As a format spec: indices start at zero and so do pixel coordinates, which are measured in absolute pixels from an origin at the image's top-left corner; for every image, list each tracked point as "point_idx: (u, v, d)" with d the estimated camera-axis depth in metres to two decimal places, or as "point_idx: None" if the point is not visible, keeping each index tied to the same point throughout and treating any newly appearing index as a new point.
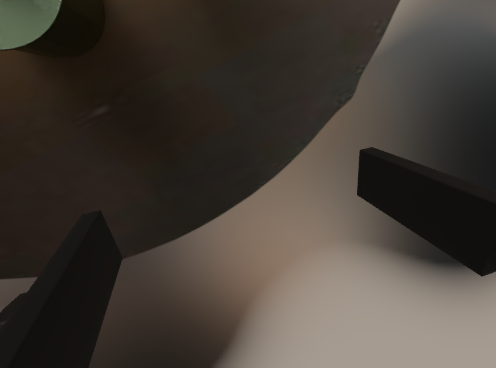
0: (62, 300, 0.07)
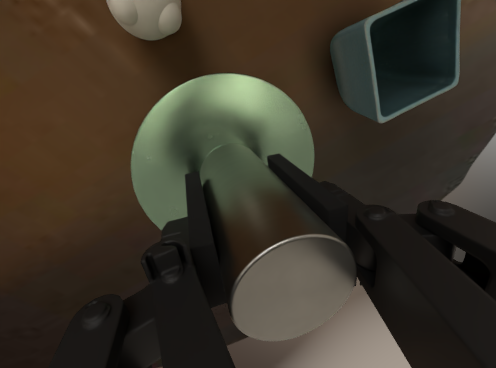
0: (209, 220, 0.10)
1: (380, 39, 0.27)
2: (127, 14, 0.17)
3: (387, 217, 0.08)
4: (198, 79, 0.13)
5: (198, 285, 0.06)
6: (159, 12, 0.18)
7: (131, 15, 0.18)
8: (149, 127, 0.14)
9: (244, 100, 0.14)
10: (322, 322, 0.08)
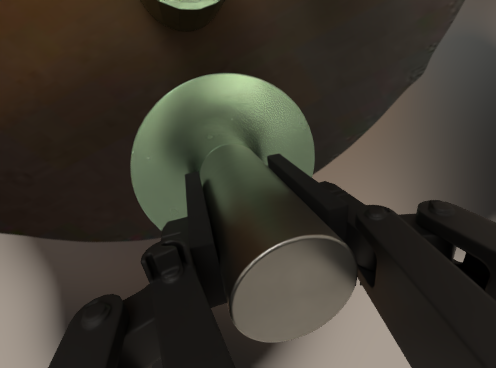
0: None
1: None
2: None
3: (387, 217, 0.08)
4: (198, 79, 0.13)
5: (198, 285, 0.06)
6: None
7: None
8: (149, 127, 0.14)
9: (244, 100, 0.14)
10: (323, 323, 0.08)
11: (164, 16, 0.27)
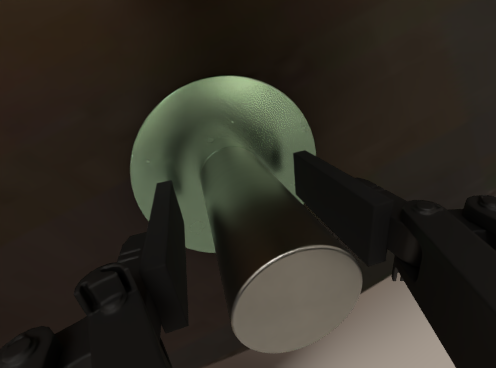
0: (171, 236, 0.09)
1: None
2: None
3: (437, 213, 0.08)
4: (198, 82, 0.13)
5: (143, 312, 0.06)
6: None
7: None
8: (149, 130, 0.13)
9: (244, 102, 0.14)
10: (326, 333, 0.08)
11: None
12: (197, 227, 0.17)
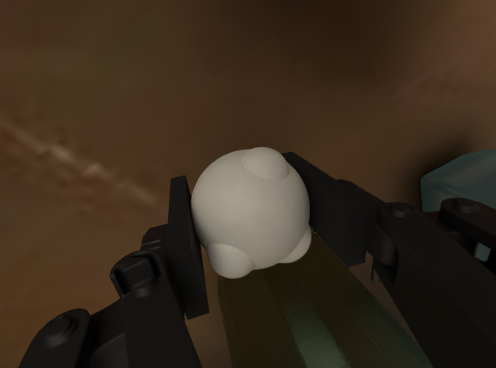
0: (191, 227, 0.09)
1: None
2: (240, 276, 0.10)
3: (411, 214, 0.08)
4: None
5: (172, 297, 0.06)
6: (288, 252, 0.11)
7: (246, 274, 0.10)
8: None
9: None
10: None
11: None
12: None
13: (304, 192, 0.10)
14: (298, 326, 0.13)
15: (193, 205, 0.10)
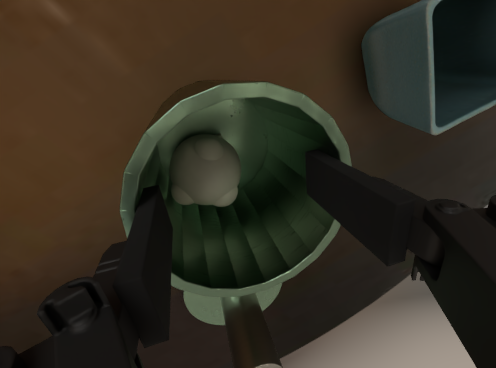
0: (153, 245, 0.09)
1: None
2: (184, 204, 0.18)
3: (461, 212, 0.07)
4: None
5: (114, 328, 0.06)
6: (214, 200, 0.18)
7: (187, 204, 0.18)
8: None
9: None
10: None
11: None
12: (216, 313, 0.30)
13: (228, 170, 0.17)
14: (187, 91, 0.13)
15: None
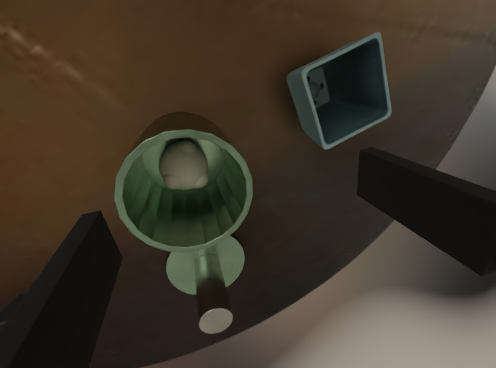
0: (62, 300, 0.07)
1: (331, 73, 0.31)
2: (175, 187, 0.27)
3: None
4: None
5: None
6: (195, 181, 0.27)
7: (177, 187, 0.27)
8: (173, 253, 0.35)
9: None
10: (225, 328, 0.30)
11: None
12: (193, 285, 0.38)
13: (202, 158, 0.27)
14: (154, 128, 0.22)
15: (159, 161, 0.27)
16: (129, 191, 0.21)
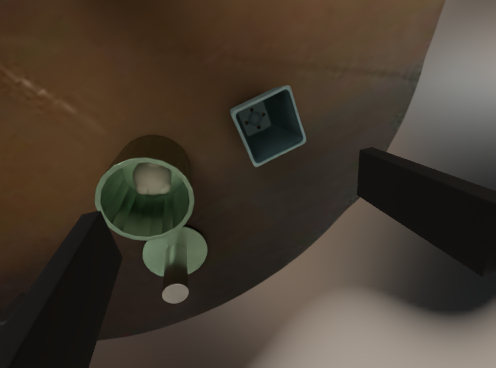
0: (62, 300, 0.07)
1: (269, 106, 0.40)
2: (143, 193, 0.36)
3: None
4: None
5: None
6: (159, 189, 0.37)
7: (145, 193, 0.36)
8: (148, 243, 0.45)
9: (178, 232, 0.46)
10: (183, 299, 0.39)
11: None
12: None
13: (164, 171, 0.37)
14: (125, 153, 0.31)
15: (133, 173, 0.36)
16: (107, 197, 0.31)
